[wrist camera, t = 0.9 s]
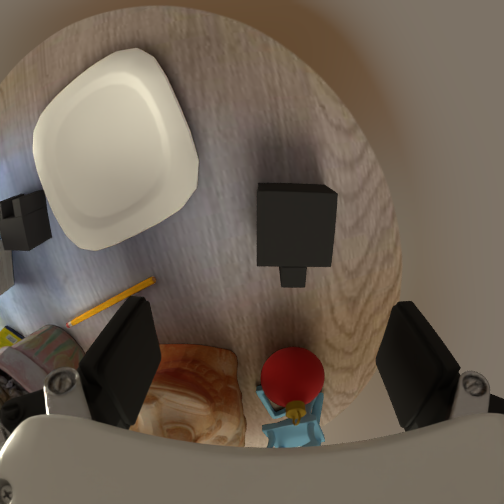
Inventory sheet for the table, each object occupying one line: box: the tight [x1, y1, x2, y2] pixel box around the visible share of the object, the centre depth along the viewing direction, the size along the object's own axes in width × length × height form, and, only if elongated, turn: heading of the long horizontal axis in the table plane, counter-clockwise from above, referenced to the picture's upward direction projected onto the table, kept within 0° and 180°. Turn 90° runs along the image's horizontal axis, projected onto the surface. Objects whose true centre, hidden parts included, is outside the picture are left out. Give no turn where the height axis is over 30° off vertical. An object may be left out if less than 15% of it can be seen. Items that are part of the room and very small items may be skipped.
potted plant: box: [0, 325, 85, 410], centre depth 22 cm, size 18×20×25 cm
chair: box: [256, 386, 325, 448], centre depth 28 cm, size 8×8×12 cm
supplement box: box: [0, 326, 24, 348], centre depth 30 cm, size 6×6×11 cm
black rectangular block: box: [257, 183, 338, 288], centre depth 23 cm, size 8×6×4 cm
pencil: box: [66, 277, 156, 328], centre depth 29 cm, size 1×18×1 cm, turn 118°
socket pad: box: [0, 190, 52, 251], centre depth 23 cm, size 6×6×4 cm
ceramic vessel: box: [129, 344, 247, 447], centre depth 27 cm, size 14×26×15 cm, turn 2°
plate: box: [33, 48, 199, 251], centre depth 22 cm, size 18×18×2 cm
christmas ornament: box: [261, 347, 324, 426], centre depth 26 cm, size 7×7×10 cm
